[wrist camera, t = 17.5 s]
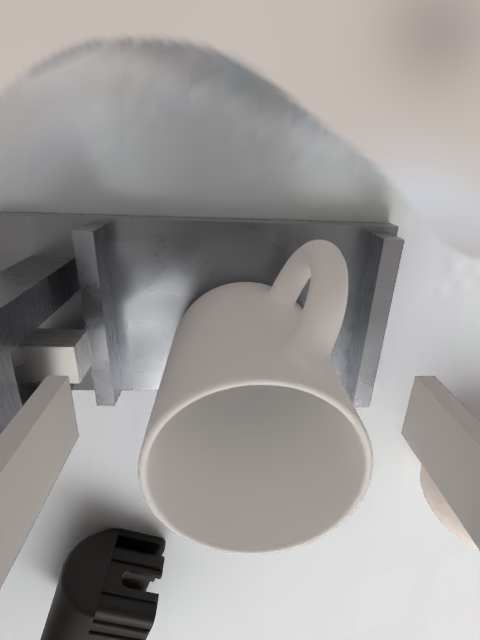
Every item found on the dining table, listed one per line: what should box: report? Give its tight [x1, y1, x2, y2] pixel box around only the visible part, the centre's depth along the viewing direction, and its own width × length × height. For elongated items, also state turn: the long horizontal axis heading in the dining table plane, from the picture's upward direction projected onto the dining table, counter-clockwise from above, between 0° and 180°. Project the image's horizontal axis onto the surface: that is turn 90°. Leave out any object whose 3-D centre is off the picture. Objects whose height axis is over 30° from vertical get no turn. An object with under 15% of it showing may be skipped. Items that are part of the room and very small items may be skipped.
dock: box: [0, 212, 404, 434], centre depth 18 cm, size 22×11×10 cm, turn 88°
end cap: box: [41, 529, 165, 640], centre depth 29 cm, size 10×7×7 cm
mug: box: [138, 239, 373, 555], centre depth 17 cm, size 12×8×10 cm
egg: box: [420, 464, 479, 550], centre depth 24 cm, size 6×6×8 cm
